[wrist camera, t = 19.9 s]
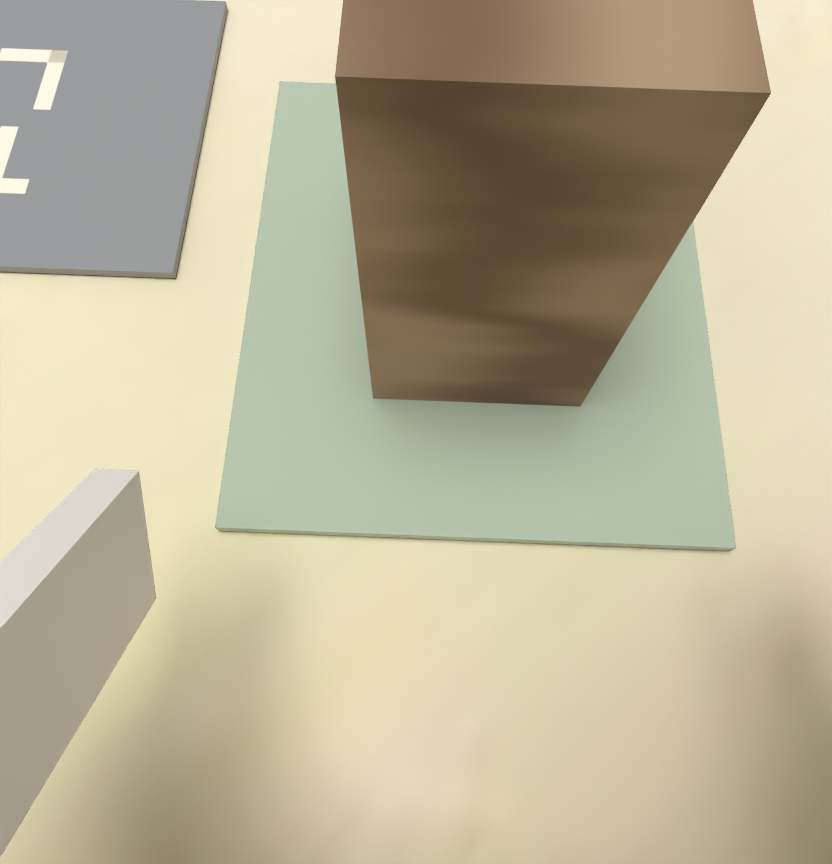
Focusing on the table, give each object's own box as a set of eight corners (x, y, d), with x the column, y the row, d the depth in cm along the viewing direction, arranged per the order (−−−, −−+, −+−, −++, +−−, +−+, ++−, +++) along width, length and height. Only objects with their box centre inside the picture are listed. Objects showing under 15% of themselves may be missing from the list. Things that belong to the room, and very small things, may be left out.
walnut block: (568, 184, 22) (704, -243, 12) (580, 406, 20) (770, 92, 9) (387, 177, 22) (370, -256, 12) (372, 398, 20) (335, 76, 9)
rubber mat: (672, 105, 24) (676, 96, 24) (729, 550, 19) (736, 547, 18) (281, 90, 24) (279, 81, 24) (219, 530, 19) (215, 527, 18)
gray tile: (227, 9, 26) (225, 1, 25) (175, 278, 21) (172, 272, 21) (-115, -4, 26) (-120, -12, 25) (-234, 262, 21) (-243, 256, 21)
